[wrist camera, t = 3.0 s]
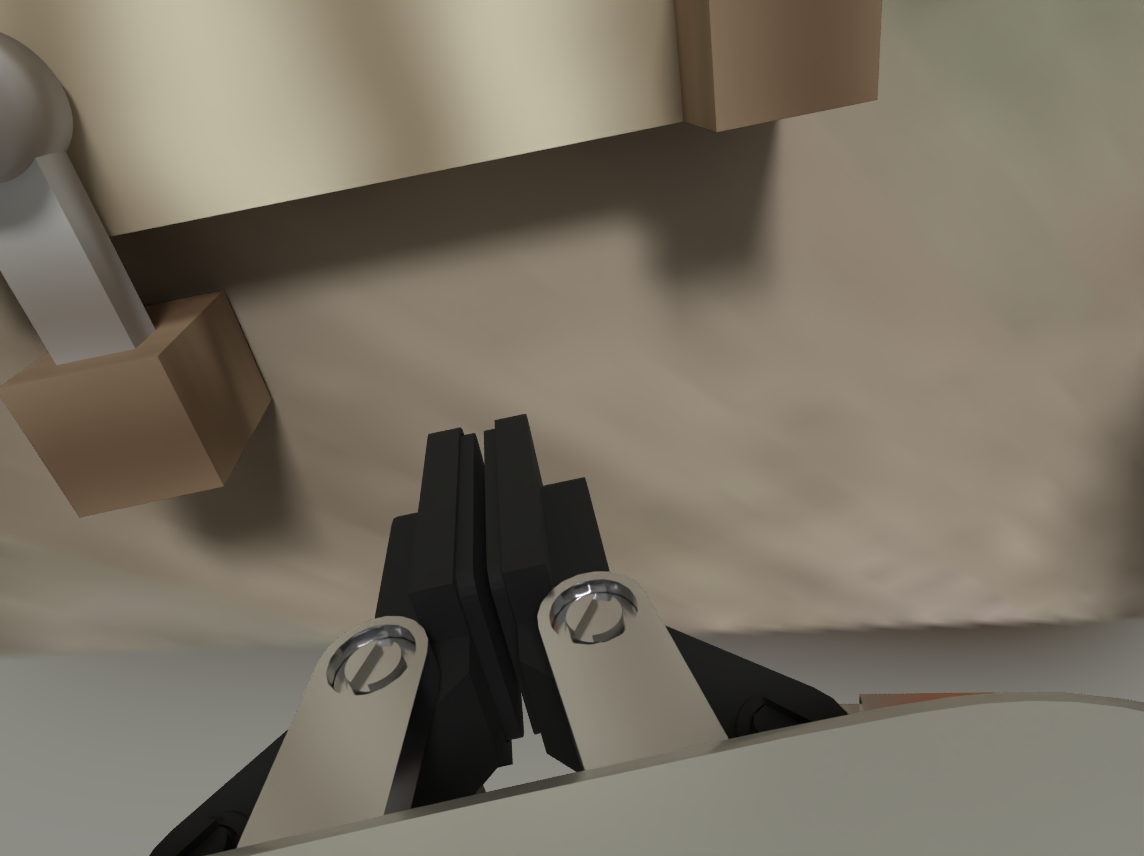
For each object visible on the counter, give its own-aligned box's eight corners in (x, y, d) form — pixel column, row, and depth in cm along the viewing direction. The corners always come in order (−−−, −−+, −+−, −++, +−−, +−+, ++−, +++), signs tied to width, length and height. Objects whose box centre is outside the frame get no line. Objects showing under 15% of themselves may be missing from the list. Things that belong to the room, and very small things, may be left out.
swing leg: (-49, 44, 16) (-233, 42, 12) (104, 15, 16) (-23, 3, 12) (156, 424, 21) (79, 517, 17) (271, 399, 21) (223, 486, 17)
